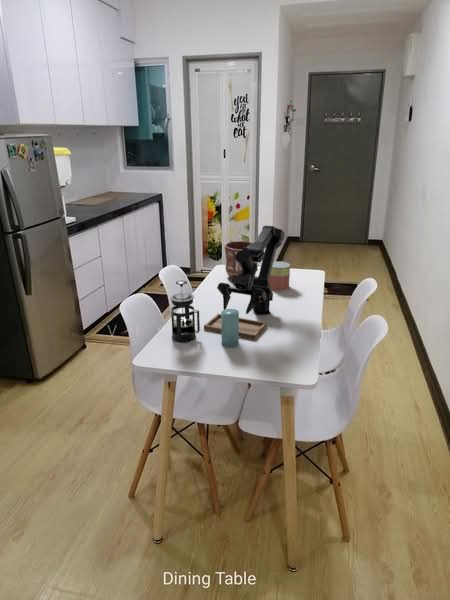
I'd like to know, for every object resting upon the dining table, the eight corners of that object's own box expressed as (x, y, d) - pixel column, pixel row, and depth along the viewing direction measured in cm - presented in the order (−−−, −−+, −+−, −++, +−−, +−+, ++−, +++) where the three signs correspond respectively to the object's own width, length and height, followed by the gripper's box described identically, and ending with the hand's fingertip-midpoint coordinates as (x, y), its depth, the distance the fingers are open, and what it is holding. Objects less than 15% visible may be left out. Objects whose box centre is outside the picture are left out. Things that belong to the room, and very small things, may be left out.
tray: (218, 317, 187) (218, 313, 186) (266, 326, 178) (266, 322, 177) (204, 329, 176) (203, 325, 175) (254, 339, 167) (254, 335, 166)
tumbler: (236, 339, 168) (236, 308, 163) (240, 347, 162) (240, 315, 157) (219, 340, 166) (219, 309, 162) (223, 348, 160) (222, 316, 156)
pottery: (219, 280, 232) (219, 247, 225) (230, 270, 247) (230, 239, 240) (251, 284, 226) (252, 251, 219) (260, 274, 241) (261, 242, 234)
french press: (166, 340, 167) (162, 284, 158) (175, 330, 175) (172, 276, 166) (195, 344, 164) (193, 287, 155) (203, 334, 172) (201, 279, 163)
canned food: (276, 281, 229) (276, 260, 225) (293, 286, 222) (294, 264, 217) (262, 287, 222) (263, 264, 217) (280, 292, 214) (281, 269, 210)
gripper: (219, 262, 166) (206, 298, 161) (264, 268, 158) (252, 306, 153) (227, 276, 175) (215, 310, 170) (271, 282, 168) (260, 319, 163)
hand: (235, 311), depth 164 cm, fingers open, 9 cm apart
